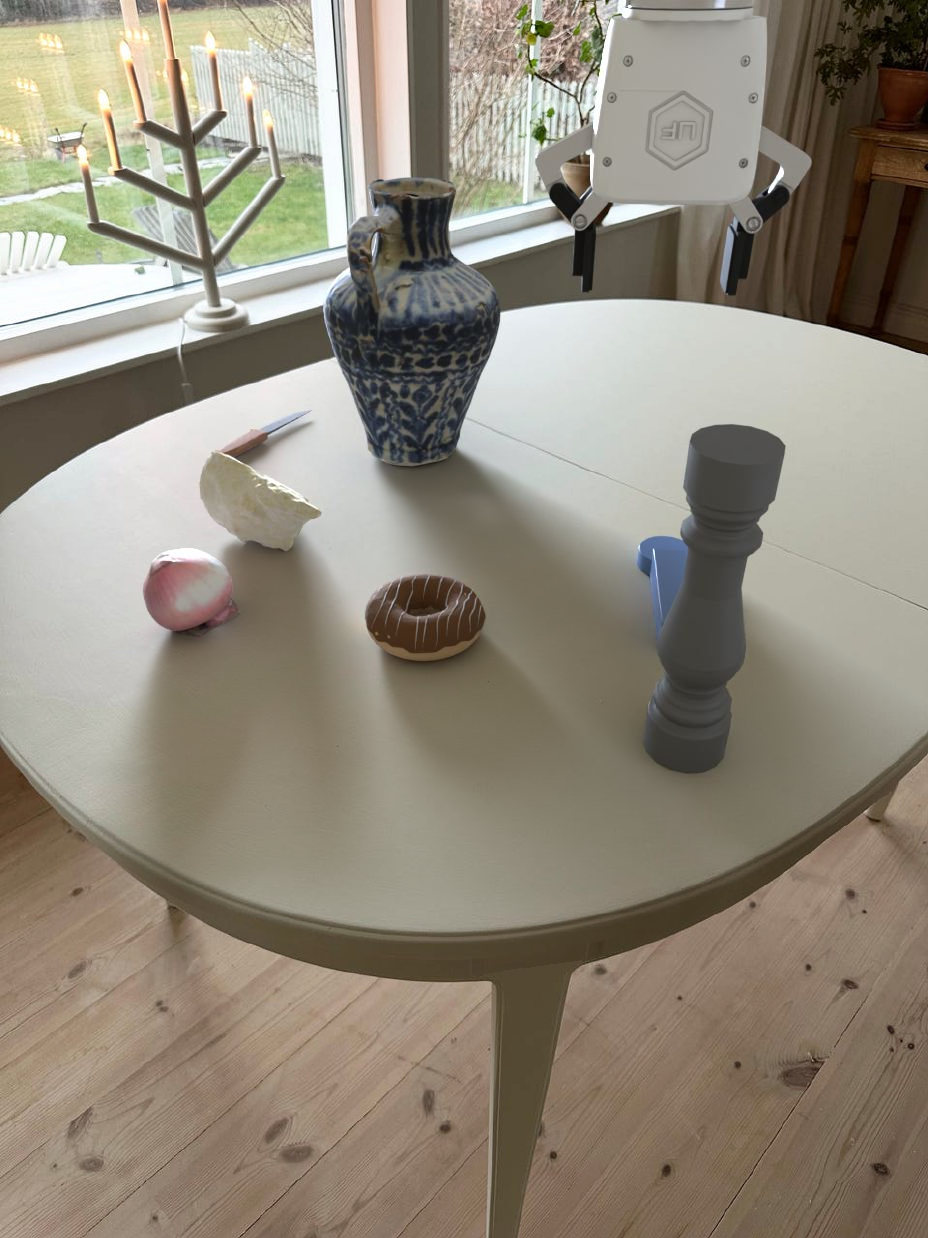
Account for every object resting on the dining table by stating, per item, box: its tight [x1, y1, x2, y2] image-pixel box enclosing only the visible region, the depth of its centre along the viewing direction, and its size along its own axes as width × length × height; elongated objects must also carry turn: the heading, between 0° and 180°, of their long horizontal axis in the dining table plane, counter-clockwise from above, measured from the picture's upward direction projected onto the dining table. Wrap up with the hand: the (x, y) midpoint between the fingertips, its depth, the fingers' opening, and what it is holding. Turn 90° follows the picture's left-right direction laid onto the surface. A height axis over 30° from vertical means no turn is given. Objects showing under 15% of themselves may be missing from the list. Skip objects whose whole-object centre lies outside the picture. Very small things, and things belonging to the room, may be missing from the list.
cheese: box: [198, 450, 322, 552], centre depth 94 cm, size 15×7×15 cm
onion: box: [142, 547, 241, 637], centre depth 82 cm, size 8×8×7 cm
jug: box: [322, 176, 501, 467], centre depth 103 cm, size 21×19×30 cm
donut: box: [364, 573, 487, 662], centre depth 81 cm, size 11×11×4 cm
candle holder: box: [642, 423, 787, 774], centre depth 63 cm, size 6×6×25 cm
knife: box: [210, 410, 313, 458], centre depth 115 cm, size 17×1×3 cm
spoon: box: [636, 535, 688, 642], centre depth 85 cm, size 17×5×3 cm, turn 174°
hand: (656, 288), depth 64 cm, fingers open, 9 cm apart
